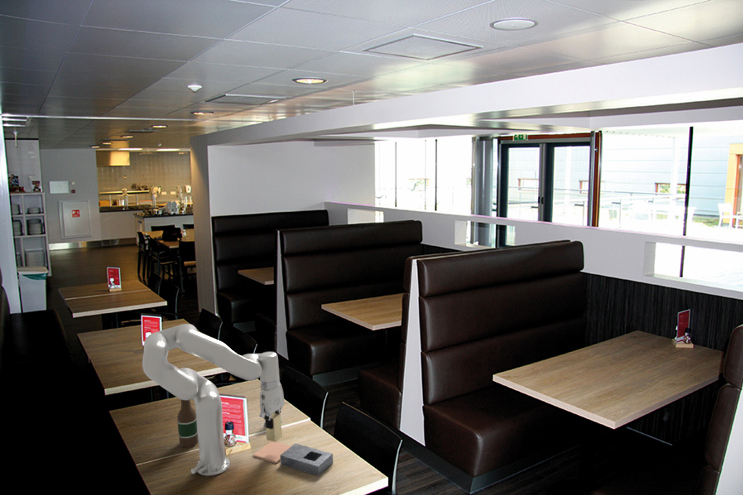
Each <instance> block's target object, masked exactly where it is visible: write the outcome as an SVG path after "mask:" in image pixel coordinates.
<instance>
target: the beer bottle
mask: <svg viewBox="0 0 743 495" xmlns="http://www.w3.org/2000/svg"><path fill="white" fill-rule="evenodd" d="M191 404H192V403H191V399H190V400H182V399H180V410H179V411H178V414H177V428H178V429H177V430H178V441H179V445H180V446H181V447H182V448H185V447H189V448H191V447H195V446H196V445H197V444H199V442H198V432H197V419H196V410H194V408H193V407H192V405H191Z"/></svg>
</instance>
